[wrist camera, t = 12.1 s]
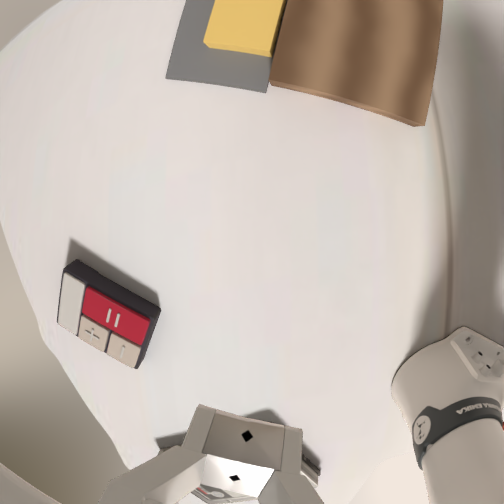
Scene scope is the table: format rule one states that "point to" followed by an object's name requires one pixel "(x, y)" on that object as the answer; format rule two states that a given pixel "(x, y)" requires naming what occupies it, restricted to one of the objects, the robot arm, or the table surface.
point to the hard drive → (220, 496)
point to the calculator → (106, 314)
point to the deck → (361, 53)
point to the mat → (214, 55)
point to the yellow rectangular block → (245, 25)
